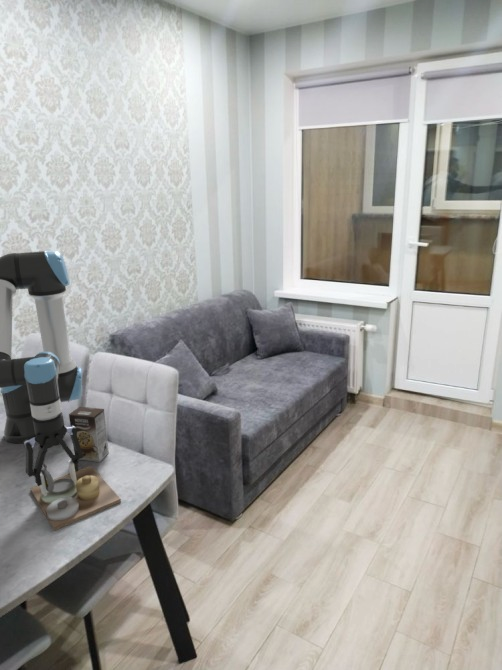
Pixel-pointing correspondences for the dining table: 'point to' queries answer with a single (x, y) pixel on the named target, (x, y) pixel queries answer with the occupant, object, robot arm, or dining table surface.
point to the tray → (76, 498)
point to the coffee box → (90, 432)
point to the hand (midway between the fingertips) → (59, 487)
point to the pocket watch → (56, 482)
